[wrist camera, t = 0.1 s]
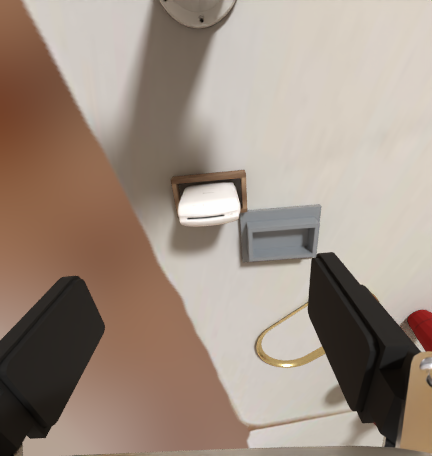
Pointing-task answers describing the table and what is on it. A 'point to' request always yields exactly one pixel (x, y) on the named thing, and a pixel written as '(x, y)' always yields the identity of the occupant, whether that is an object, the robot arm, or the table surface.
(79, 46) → the table surface
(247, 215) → the docking base
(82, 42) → the table surface
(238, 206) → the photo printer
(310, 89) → the table surface
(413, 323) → the plastic cup
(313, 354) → the gold oval ring
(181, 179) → the wooden picture frame
